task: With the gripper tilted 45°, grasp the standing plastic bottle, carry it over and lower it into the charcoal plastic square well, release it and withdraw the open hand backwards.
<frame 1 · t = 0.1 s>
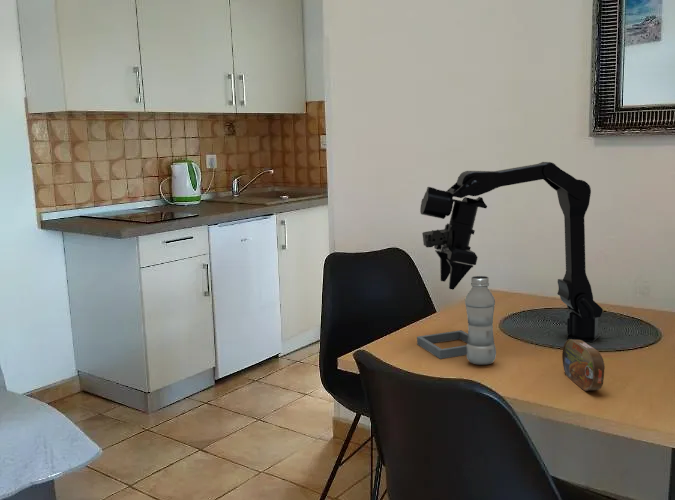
hand: (446, 285, 164), 15 cm above the table, tool pointing down, fingers open, 9 cm apart
plastic bottle: (480, 364, 153), on the table
well: (451, 347, 165), on the table
tin: (582, 384, 139), on the table
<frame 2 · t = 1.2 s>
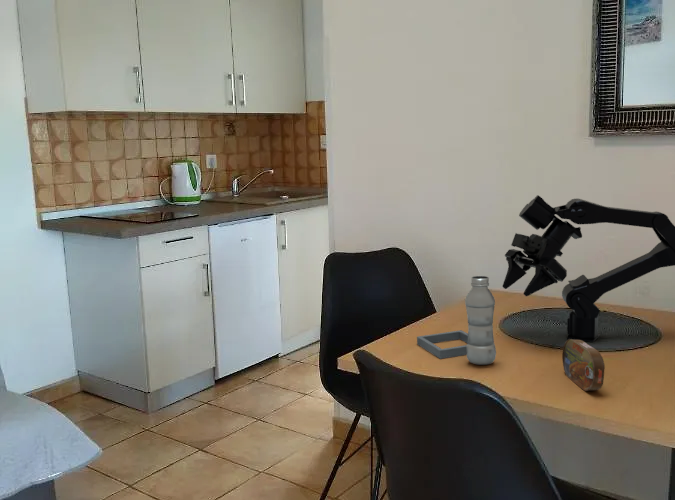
hand: (514, 291, 163), 13 cm above the table, tool tilted 45°, fingers open, 9 cm apart
nothing on the table moved.
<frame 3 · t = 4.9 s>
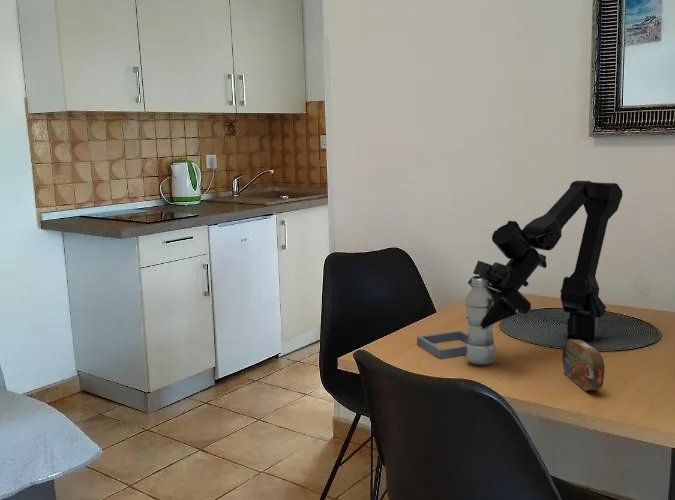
hand: (474, 323, 151), 10 cm above the table, tool tilted 45°, fingers closed on plastic bottle, 6 cm apart
plastic bottle: (480, 364, 153), on the table, touching gripper
everything else where it was.
when the fingers open (11 cm above the table, at t = 9.1 s): plastic bottle drops 1 cm, resting in well.
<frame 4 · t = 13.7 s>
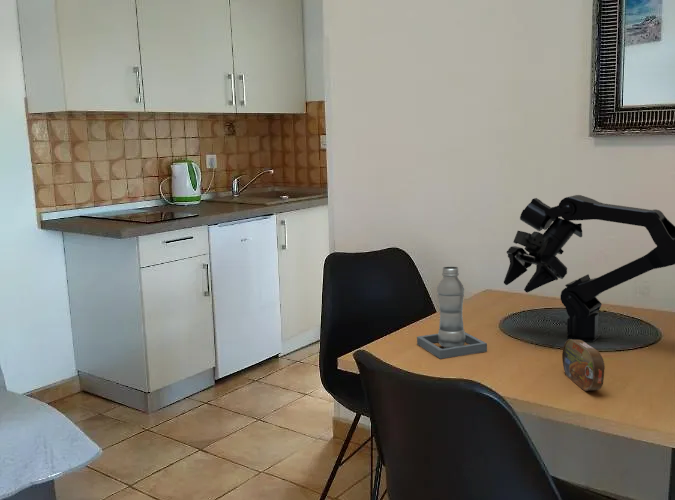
hand: (514, 287, 166), 14 cm above the table, tool tilted 45°, fingers open, 9 cm apart
plastic bottle: (451, 348, 165), resting in well
everything else where it was.
at the end: plastic bottle 0.1 cm off-centre on the well, point 0.0 cm above the well's base; plastic bottle tilted 0°; the gripper is holding nothing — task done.
